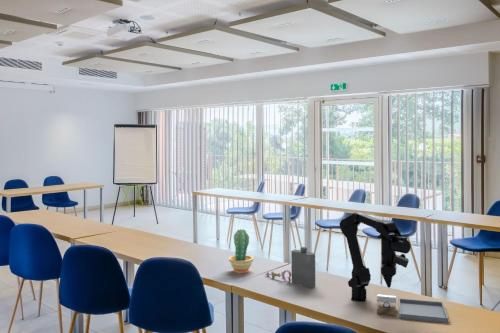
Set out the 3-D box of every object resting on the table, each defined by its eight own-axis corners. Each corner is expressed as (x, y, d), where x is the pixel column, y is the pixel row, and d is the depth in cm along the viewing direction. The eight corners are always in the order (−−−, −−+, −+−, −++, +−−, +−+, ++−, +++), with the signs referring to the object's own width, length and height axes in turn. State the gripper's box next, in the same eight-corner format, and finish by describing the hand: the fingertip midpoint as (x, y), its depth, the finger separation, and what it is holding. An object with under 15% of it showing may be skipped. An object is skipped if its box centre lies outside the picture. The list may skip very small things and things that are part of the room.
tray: (399, 318, 187) (399, 313, 187) (398, 302, 205) (398, 298, 205) (448, 322, 181) (448, 318, 181) (442, 306, 199) (442, 302, 199)
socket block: (377, 313, 192) (377, 308, 192) (377, 307, 200) (377, 301, 199) (396, 315, 190) (396, 310, 189) (395, 308, 197) (395, 303, 197)
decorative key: (266, 280, 251) (292, 282, 236) (264, 280, 250) (290, 282, 235) (264, 268, 251) (290, 269, 237) (263, 269, 250) (289, 270, 236)
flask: (318, 285, 231) (318, 248, 230) (311, 288, 227) (311, 250, 226) (296, 279, 241) (296, 244, 240) (289, 282, 237) (289, 246, 236)
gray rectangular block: (377, 311, 194) (377, 296, 194) (377, 309, 197) (377, 294, 197) (396, 313, 192) (396, 297, 192) (395, 311, 195) (395, 295, 194)
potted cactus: (257, 268, 265) (256, 227, 264) (250, 275, 251) (249, 232, 249) (233, 266, 270) (232, 226, 268) (225, 273, 255) (224, 231, 253)
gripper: (408, 254, 182) (409, 291, 182) (406, 245, 199) (407, 279, 200) (380, 254, 185) (381, 290, 185) (381, 245, 203) (382, 278, 203)
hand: (389, 284), depth 193 cm, fingers open, 9 cm apart
